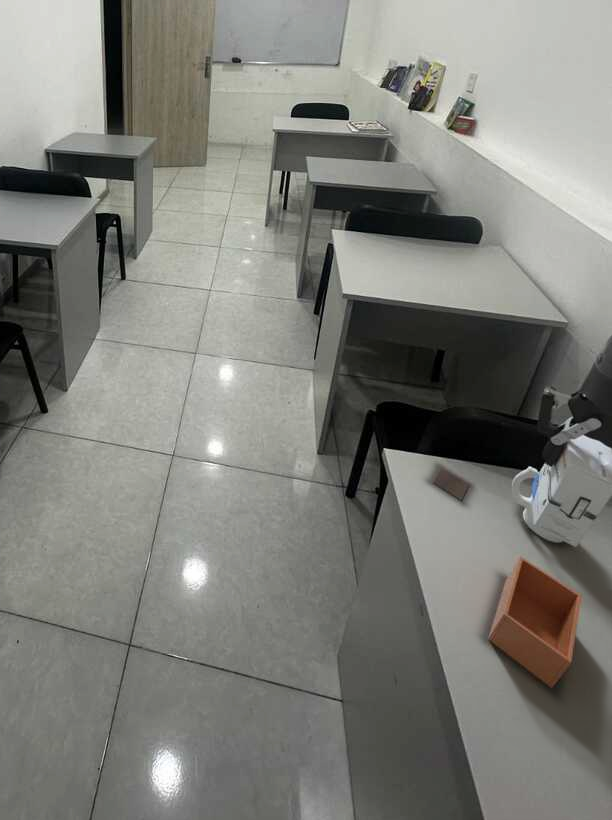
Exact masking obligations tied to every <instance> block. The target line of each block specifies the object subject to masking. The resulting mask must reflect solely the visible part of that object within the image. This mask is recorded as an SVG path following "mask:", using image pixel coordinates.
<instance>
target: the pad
mask: <svg viewBox="0 0 612 820" xmlns="http://www.w3.org/2000/svg"><path fill="white" fill-rule="evenodd" d="M432 484H434V485H435V486H436V487H438V488H440V489H442V490H443V491H444V492H446V493H448V494H449V495H451V496H453V497H455V498H456V500H459V501H460V502H462V501H463V498H464V497H465V494H466V492H467V490H468V487H470V484H469V483H468V482H466V481H465V480H463V479H461V478H459V477H458V476H456V475H455V474H453V473H451V472H450V471H448V470H446V469H445V468H443V467H440V468H439V470H438V471H437V474H436V475H435V477H434V479H433V481H432Z"/></svg>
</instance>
